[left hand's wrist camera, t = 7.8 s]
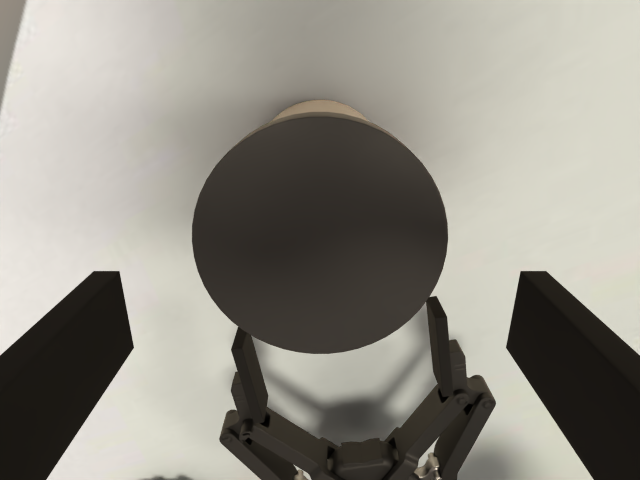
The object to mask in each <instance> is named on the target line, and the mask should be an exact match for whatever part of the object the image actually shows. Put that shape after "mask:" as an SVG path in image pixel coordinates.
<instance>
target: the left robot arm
mask: <svg viewBox="0 0 640 480" xmlns="http://www.w3.org/2000/svg"><path fill="white" fill-rule="evenodd" d="M133 348H134V346H133V341H132V335H131V330H130V325H129V320H128V314H127V309H126V304H125V299H124V293H123V288H122V283H121V278H120V272H119V271H94V272H93V273H91V274H90V275H89V276H88V277H87V278H86V279H85V280H84V281H83V282H81V283H80V284H79V285H78V286H77V287H76V288H75V289H74V290H73V291H71V292H70V293H69V294H68V295H67V296H66V297H65V298H64V299H63V300H61V301H60V302H59V303H58V304H57V305H56V306H55V307H54V308H53V309H51V310H50V311H49V312H48V313H47V314H46V315H45V316H44V317H43V318H41V319H40V320H39V321H38V322H37V323H36V324H35V325H34V326H33V327H31V328H30V329H29V330H28V331H27V332H26V333H25V334H24V335H23V336H21V337H20V338H19V339H18V340H17V341H16V342H15V343H14V344H13V345H11V346H10V347H9V348H8V349H7V350H6V351H5V352H4V353H3V354H1V355H0V480H46V479H47V478H48V476H49V475H50V473H51V472H52V470H53V469H54V467H55V466H56V464H57V463H58V461H59V460H60V458H61V457H62V455H63V454H64V452H65V451H66V449H67V448H68V446H69V444H70V443H71V441H72V440H73V438H74V437H75V435H76V434H77V432H78V431H79V429H80V428H81V426H82V425H83V423H84V422H85V420H86V419H87V417H88V416H89V414H90V413H91V411H92V410H93V408H94V407H95V405H96V404H97V402H98V401H99V399H100V398H101V396H102V395H103V393H104V392H105V390H106V389H107V387H108V386H109V384H110V383H111V381H112V380H113V378H114V377H115V375H116V374H117V372H118V371H119V369H120V368H121V366H122V365H123V363H124V362H125V360H126V359H127V357H128V356H129V354H130V353H131V351H132V350H133ZM506 348H507V350H508V351H509V353H510V354H511V356H512V357H513V359H514V360H515V362H516V363H517V365H518V366H519V368H520V369H521V371H522V372H523V374H524V375H525V377H526V378H527V380H528V381H529V383H530V384H531V386H532V387H533V389H534V390H535V392H536V393H537V395H538V396H539V398H540V399H541V401H542V402H543V404H544V405H545V407H546V408H547V410H548V411H549V413H550V414H551V416H552V417H553V419H554V420H555V422H556V423H557V425H558V426H559V428H560V429H561V431H562V432H563V434H564V435H565V437H566V438H567V440H568V441H569V443H570V444H571V446H572V448H573V449H574V451H575V452H576V454H577V455H578V457H579V458H580V460H581V461H582V463H583V464H584V466H585V467H586V469H587V470H588V472H589V473H590V475H591V476H592V478H593V479H594V480H640V355H639V354H637V353H636V352H635V351H634V350H633V349H632V348H631V347H630V346H629V345H627V344H626V343H625V342H624V341H623V340H622V339H621V338H620V337H619V336H617V335H616V334H615V333H614V332H613V331H612V330H611V329H610V328H609V327H607V326H606V325H605V324H604V323H603V322H602V321H601V320H600V319H599V318H597V317H596V316H595V315H594V314H593V313H592V312H591V311H590V310H589V309H587V308H586V307H585V306H584V305H583V304H582V303H581V302H580V301H579V300H577V299H576V298H575V297H574V296H573V295H572V294H571V293H570V292H569V291H567V290H566V289H565V288H564V287H563V286H562V285H561V284H560V283H559V282H557V281H556V280H555V279H554V278H553V277H552V276H551V275H550V274H549V273H547V272H546V271H521V272H520V277H519V283H518V288H517V293H516V299H515V304H514V309H513V314H512V320H511V325H510V330H509V335H508V341H507V346H506Z"/></svg>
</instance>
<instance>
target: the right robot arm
mask: <svg viewBox="0 0 640 480" xmlns="http://www.w3.org/2000/svg"><path fill="white" fill-rule="evenodd" d="M426 305H427V315H428V324H429V334H430V344H431V354H432V363H433V372H434V375H435V378H436V380H437V383H438V384H437V385H436V386H435V388H434V389H433V390H432V391H431V392H430V394H429V395H428V396H427V397H426V398H425V399H424V401H423V402H422V403H421V404H420V405H419V407H418V408H417V409H416V410H415V411H414V413H413V414H412V415H411V416H410V417H409V419H408V420H407V421H406V422H405V423H404V424H403V426H402V427H401V428H398V427H396V428H395V429H394V430H393V432H392V433H391V434H390V435H389V436H388V438H387V439H386V440H385V441H380V439H379V438H375V439H369V440H366V441H363V442H345V443H341V444H342V446H340V447H338V446H336V445H335V444H333V443H331V442H330V441H328V440H327V439H325V438H323V437H322V438H320V439H317V438H316V437H314V436H312V435H311V434H309V433H308V432H306V431H304V430H303V429H301V428H300V427H298V426H296V425H295V424H293V423H292V422H290V421H288V420H287V419H285V418H284V417H282V416H280V415H279V414H277V413H276V412H274V411H272V410H271V409H269V408H268V407H267V400H268V393H267V390H266V386H265V383H264V379H263V376H262V372H261V369H260V365H259V362H258V358H257V355H256V351H255V347H254V344H253V340H252V337H251V335H250V334H249V333H247V332H245V331H244V330H242V329H241V328H240V327H238V330H237V333H236V336H235V339H234V342H233V345H232V349H231V351H232V354H233V357H234V361H235V364H236V367H237V370H238V372H235V375H234V379H233V383H232V387H231V393H232V396H233V399H234V401H235V405H236V408H237V410H230V411H228V412H227V413H226V417H225V420H224V424H223V427H222V431H221V435H220V442H221V444H223V445H224V446H225V447H226V448H227V449H228V450H229V451H230V452H231V453H232V454H234V455H235V456H236V457H237V458H238V459H239V460H240V461H241V462H242V463H243V464H245V465H246V466H247V467H248V468H249V469H250V470H251V471H252V472H253V473H254V474H256V475H257V476H258V477H259V478H260V479H261V480H308V479H307V478H306V477H305V476H304V475H303V471H302V470H304V471H305V472H307V473H308V474H309V475H310V477H311V479H312V480H457V473H458V471H459V470H460V468H461V466H462V464H463V462H464V461H465V459H466V457H467V455H468V453H469V452H470V450H471V448H472V446H473V445H474V443H475V441H476V439H477V437H478V436H479V434H480V432H481V430H482V428H483V427H484V425H485V423H486V421H487V420H488V418H489V416H490V414H491V412H492V411H493V409H494V407H495V405H496V402H495V399H494V397H493V395H492V394H491V392H490V390H489V388H488V386H487V384H486V382H485V380H484V378H483V377H482V376H480V375H474V376H472V377H470V378H468V377H467V376H466V364H465V363H466V361H465V355H464V353H463V351H462V349H461V347H460V345H459V344H458V342H457V340H449V336H448V324H447V316H446V314H445V312H444V310H443V308H442V306H441V304H440V302H439V300H438V298H437V296H434V297H429V298H428V299H427V301H426ZM438 437H439V438H438ZM437 438H438V440H437V442H436V445H435V448H434V453H429V454H428V458H429V459H428V460H427V461H426V464H425V465H424V466H422V467H418V468H417V466H418V461H419V459H420V457H421V456H422V455H423V454H424V453H425V452H426V450H427V449H428V448H429V447H430V446H431V445H432V444H433V443H434V442H435V440H436V439H437ZM327 459H328V461H327ZM293 464H294V465H295V466H297V467H299V468H300V469H302V470H296V468H295V466H294V465H293Z"/></svg>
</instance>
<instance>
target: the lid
mask: <svg viewBox="0 0 640 480" xmlns="http://www.w3.org/2000/svg"><path fill="white" fill-rule="evenodd" d="M447 243H448V226H447V218H446V213H445V207H444V204H443V201H442V198H441V195H440V192H439V190H438V188H437V186H436V184H435V182H434V180H433V178H432V177H431V175H430V174H429V172H428V171H427V169H426V168H425V167H424V165H423V164H422V163H421V162H420V160H419V159H418V158H417V157H416V156H415V155H414V154H413V153H412V152H411V151H410V150H409V149H408V148H407V147H406V146H405V145H404V144H402V143H401V142H400V141H399V140H398V139H396V138H395V137H394V136H393V135H391V134H390V133H389V132H387V131H385V130H384V129H382V128H380V127H379V126H377V125H375V124H373V123H370V122H368V121H366V120H363V119H361V118H358V117H354V116H350V115H346V114H341V113H333V112H306V113H299V114H293V115H290V116H286V117H283V118H279V119H276V120H274V121H272V122H270V123H267V124H265V125H263V126H261V127H260V128H258V129H256V130H255V131H253V132H252V133H250V134H248V135H247V136H246V137H245V138H244V139H242V140H241V141H240V142H239V143H238V144H236V145H235V146H234V147H233V148H232V149H231V150H230V151H229V152H228V153H227V154H226V155H225V156H224V157H223V158H222V159H221V161H220V162H219V163H218V164H217V165H216V166H215V168H214V169H213V171H212V172H211V174H210V175H209V177H208V178H207V180H206V182H205V184H204V186H203V188H202V190H201V192H200V195H199V198H198V201H197V204H196V208H195V212H194V218H193V224H192V244H193V252H194V258H195V262H196V266H197V269H198V272H199V275H200V277H201V279H202V282H203V284H204V286H205V288H206V290H207V291H208V293H209V295H210V296H211V298H212V299H213V301H214V302H215V303H216V305H217V306H218V307H219V309H220V310H221V311H222V312H223V313H224V314H225V315H226V316H227V317H228V318H229V319H230V320H231V321H232V322H233V323H235V324H236V325H237V326H239V327H240V328H241V329H242V330H244V331H245V332H247V333H249V334H250V335H252V336H254V337H255V338H257V339H259V340H261V341H264V342H266V343H268V344H270V345H273V346H276V347H279V348H282V349H286V350H290V351H295V352H301V353H311V354H330V353H338V352H345V351H350V350H354V349H358V348H361V347H364V346H367V345H370V344H372V343H374V342H376V341H379V340H381V339H383V338H385V337H387V336H388V335H390V334H391V333H393V332H394V331H396V330H398V329H399V328H400V327H401V326H403V325H404V324H405V323H406V322H408V321H409V320H410V319H411V318H412V317H413V316H414V315H415V314H416V313H417V312H418V311H419V310H420V309H421V307H422V306H423V305H424V303H425V302H426V301H427V299H428V298H429V297H430V295H431V293H432V291H433V289H434V288H435V286H436V284H437V282H438V279H439V277H440V274H441V272H442V269H443V266H444V262H445V258H446V252H447Z"/></svg>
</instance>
